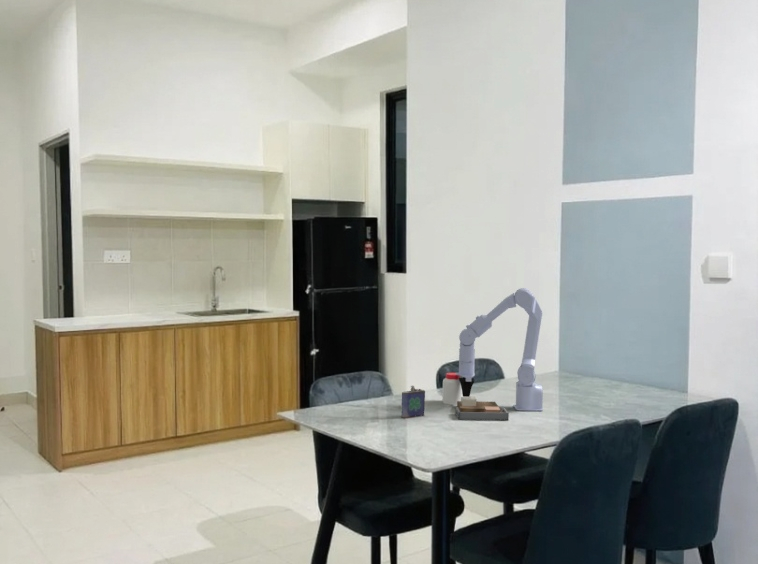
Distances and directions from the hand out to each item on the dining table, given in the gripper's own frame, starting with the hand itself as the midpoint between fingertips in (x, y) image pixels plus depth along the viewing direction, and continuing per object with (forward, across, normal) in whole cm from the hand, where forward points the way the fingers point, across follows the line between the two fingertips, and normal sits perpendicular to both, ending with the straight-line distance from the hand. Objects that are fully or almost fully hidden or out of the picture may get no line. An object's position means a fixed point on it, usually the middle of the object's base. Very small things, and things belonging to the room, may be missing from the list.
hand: (466, 397), depth 269 cm
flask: (+3, +18, -20) cm, 28 cm away
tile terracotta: (+3, +17, +7) cm, 18 cm away
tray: (+3, +18, +4) cm, 19 cm away
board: (+3, +8, +4) cm, 9 cm away
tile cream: (+1, +8, 0) cm, 8 cm away
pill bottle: (+3, -6, -4) cm, 8 cm away
